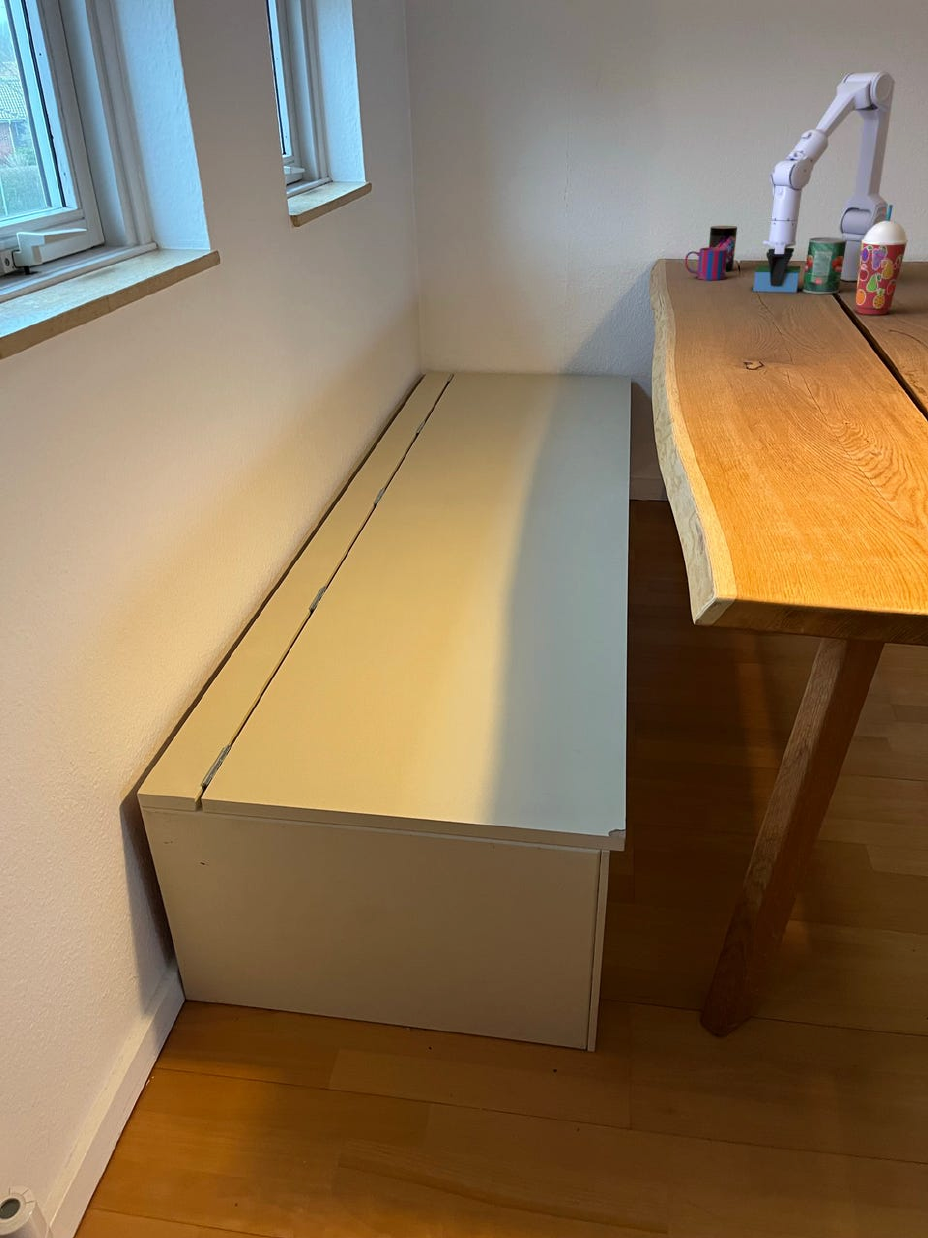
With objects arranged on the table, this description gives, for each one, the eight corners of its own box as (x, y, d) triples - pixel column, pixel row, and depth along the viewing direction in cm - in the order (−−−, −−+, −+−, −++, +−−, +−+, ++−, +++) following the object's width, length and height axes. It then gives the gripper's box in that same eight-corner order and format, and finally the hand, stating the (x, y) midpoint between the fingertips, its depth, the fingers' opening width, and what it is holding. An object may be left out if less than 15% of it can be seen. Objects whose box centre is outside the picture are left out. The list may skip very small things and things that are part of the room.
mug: (725, 280, 228) (728, 250, 224) (683, 279, 230) (685, 250, 226) (724, 275, 233) (727, 247, 230) (683, 275, 235) (686, 246, 232)
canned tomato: (843, 293, 208) (852, 240, 203) (808, 294, 208) (815, 241, 203) (831, 287, 215) (839, 236, 210) (797, 288, 215) (804, 237, 210)
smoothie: (895, 309, 190) (915, 203, 181) (892, 317, 184) (913, 207, 174) (851, 307, 193) (869, 202, 184) (848, 314, 187) (866, 206, 177)
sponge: (797, 288, 215) (800, 265, 213) (796, 292, 211) (799, 269, 208) (754, 287, 218) (757, 264, 216) (753, 291, 214) (755, 268, 211)
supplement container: (701, 270, 242) (705, 227, 237) (713, 267, 247) (717, 224, 242) (725, 272, 238) (730, 228, 233) (737, 269, 243) (742, 226, 238)
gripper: (767, 216, 214) (760, 277, 221) (764, 222, 202) (756, 287, 209) (799, 216, 212) (791, 278, 219) (797, 223, 200) (788, 288, 207)
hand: (776, 283), depth 214 cm, fingers closed on sponge, 5 cm apart
